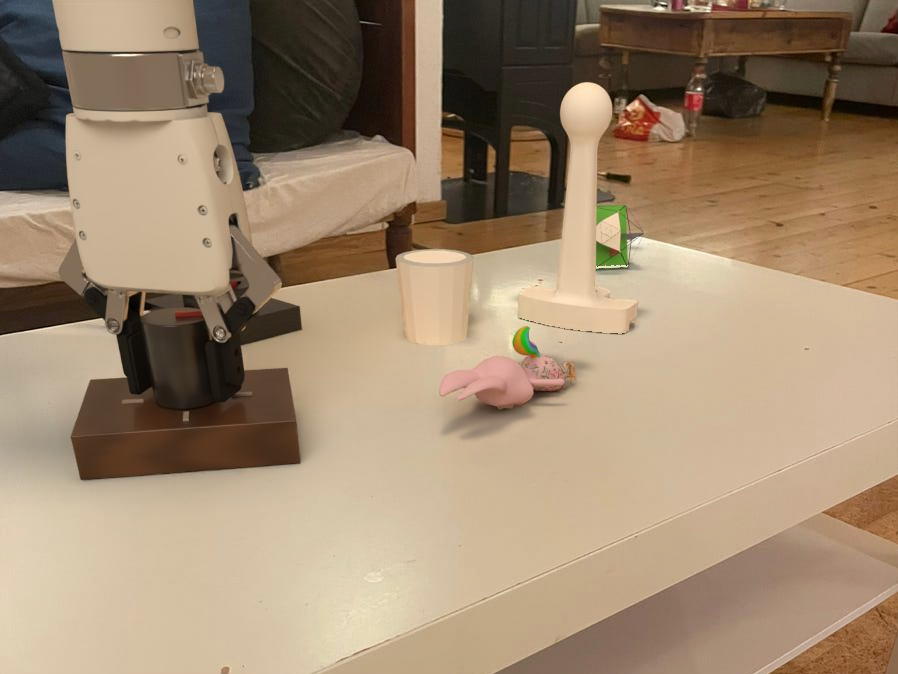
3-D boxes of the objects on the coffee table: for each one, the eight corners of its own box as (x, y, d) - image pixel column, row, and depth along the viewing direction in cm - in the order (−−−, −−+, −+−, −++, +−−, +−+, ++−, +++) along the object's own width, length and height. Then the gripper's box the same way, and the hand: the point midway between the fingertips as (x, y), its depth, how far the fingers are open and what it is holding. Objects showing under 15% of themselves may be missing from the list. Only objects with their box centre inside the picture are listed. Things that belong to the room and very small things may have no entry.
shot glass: (441, 352, 86) (440, 269, 82) (382, 338, 89) (379, 257, 86) (488, 334, 91) (489, 254, 87) (431, 321, 94) (429, 244, 90)
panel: (80, 480, 63) (69, 433, 62) (98, 419, 72) (89, 377, 71) (300, 463, 66) (296, 417, 64) (291, 406, 75) (287, 365, 73)
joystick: (511, 320, 95) (517, 81, 84) (545, 302, 100) (554, 75, 89) (619, 337, 90) (640, 87, 79) (648, 317, 96) (672, 81, 85)
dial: (152, 411, 65) (136, 322, 62) (156, 389, 69) (141, 304, 66) (220, 406, 66) (208, 319, 63) (221, 385, 70) (209, 301, 66)
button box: (145, 324, 93) (138, 280, 90) (226, 306, 98) (220, 264, 96) (220, 351, 86) (214, 304, 84) (302, 330, 91) (298, 285, 89)
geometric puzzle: (566, 238, 116) (581, 186, 108) (622, 236, 117) (641, 184, 109) (578, 288, 113) (595, 238, 106) (635, 285, 114) (655, 236, 107)
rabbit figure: (524, 389, 82) (412, 411, 71) (533, 314, 80) (418, 325, 68) (589, 405, 79) (483, 431, 68) (601, 328, 77) (492, 342, 65)
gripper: (301, 86, 59) (325, 384, 69) (43, 79, 62) (102, 365, 72) (248, 97, 53) (283, 422, 63) (-35, 88, 56) (42, 400, 66)
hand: (186, 389), depth 67 cm, fingers open, 5 cm apart
